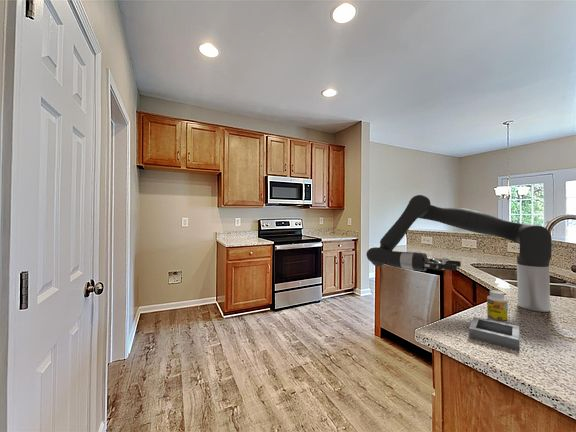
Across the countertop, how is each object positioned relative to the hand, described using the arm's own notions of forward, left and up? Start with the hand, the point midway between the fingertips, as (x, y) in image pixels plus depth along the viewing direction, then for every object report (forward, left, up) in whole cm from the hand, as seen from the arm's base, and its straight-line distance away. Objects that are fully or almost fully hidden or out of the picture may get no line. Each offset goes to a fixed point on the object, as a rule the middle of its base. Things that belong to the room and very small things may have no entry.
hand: (458, 265), depth 97 cm
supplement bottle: (0, +11, -18) cm, 21 cm away
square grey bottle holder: (+16, +11, -18) cm, 27 cm away
